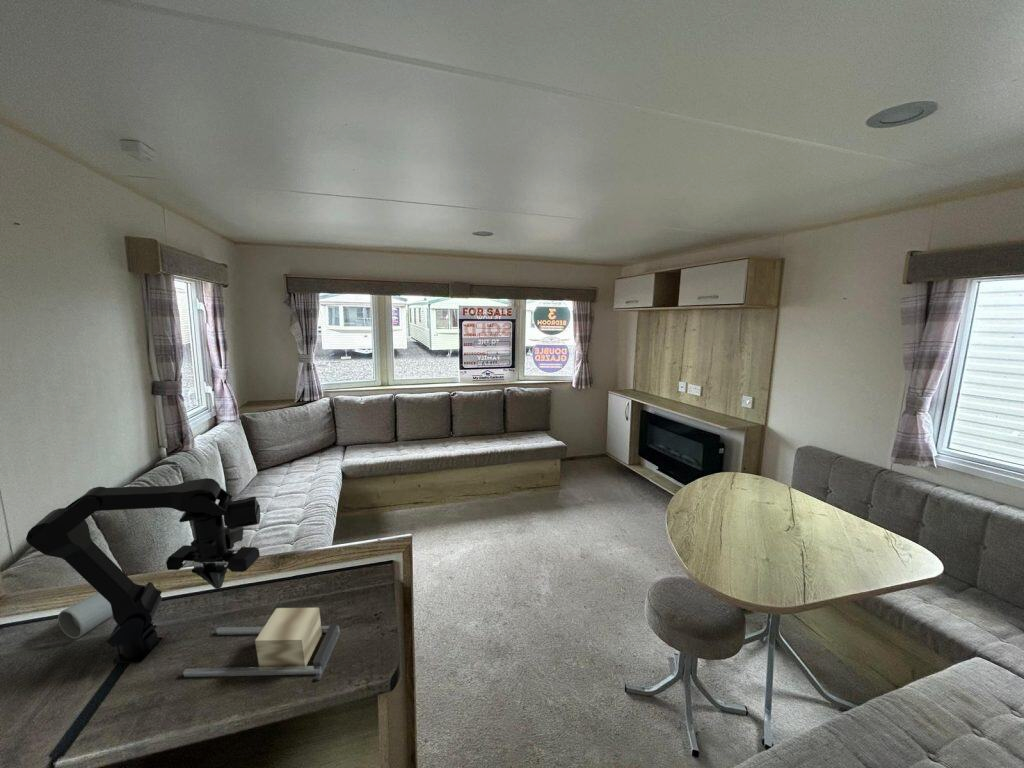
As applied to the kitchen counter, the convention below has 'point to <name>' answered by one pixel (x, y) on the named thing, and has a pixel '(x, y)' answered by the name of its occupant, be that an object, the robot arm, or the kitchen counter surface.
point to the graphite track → (317, 669)
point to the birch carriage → (289, 637)
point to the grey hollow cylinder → (84, 615)
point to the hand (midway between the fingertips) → (219, 587)
